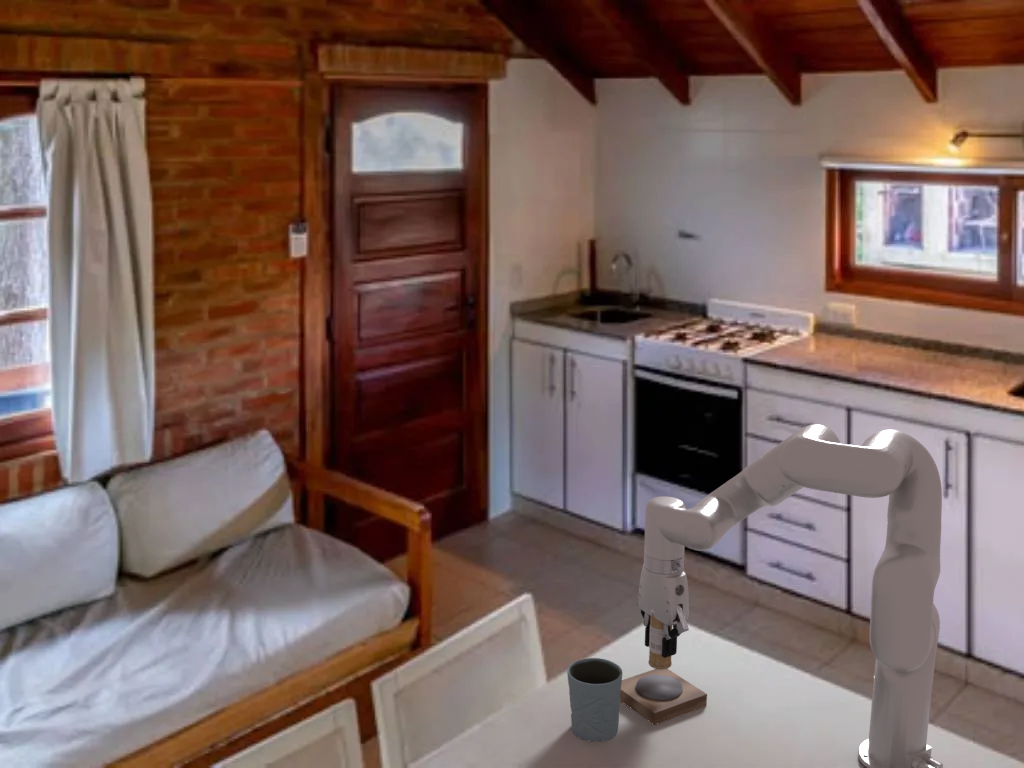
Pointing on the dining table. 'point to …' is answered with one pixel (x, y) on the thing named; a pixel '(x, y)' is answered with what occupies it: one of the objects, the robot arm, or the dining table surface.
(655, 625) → the sprinkles bottle
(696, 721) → the dining table surface
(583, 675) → the blue-grey cup
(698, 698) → the walnut base
